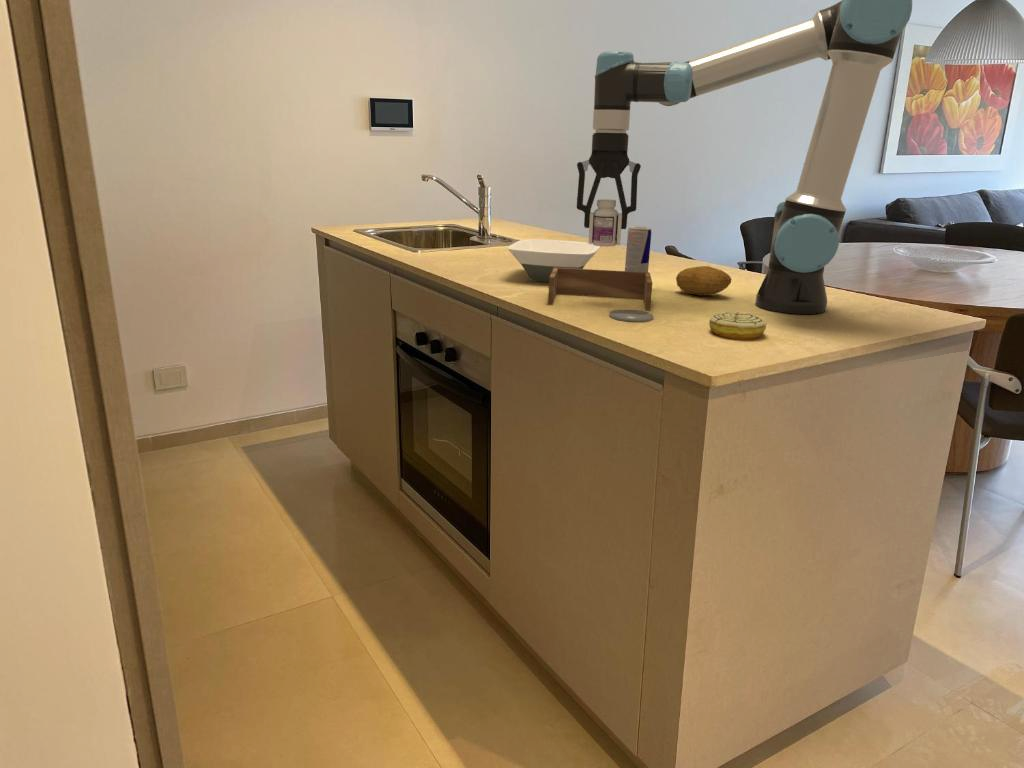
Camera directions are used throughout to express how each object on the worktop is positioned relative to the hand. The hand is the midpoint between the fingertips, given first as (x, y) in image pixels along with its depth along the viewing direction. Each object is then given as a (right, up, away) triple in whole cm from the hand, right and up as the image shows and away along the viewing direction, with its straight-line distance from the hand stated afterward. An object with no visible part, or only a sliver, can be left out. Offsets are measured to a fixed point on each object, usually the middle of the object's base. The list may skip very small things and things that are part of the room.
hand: (604, 243), depth 168 cm
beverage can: (+10, -8, +21) cm, 24 cm away
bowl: (-9, -4, +31) cm, 32 cm away
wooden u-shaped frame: (-1, -12, +5) cm, 13 cm away
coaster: (+5, -17, -9) cm, 20 cm away
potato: (+25, -10, +16) cm, 31 cm away
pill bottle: (0, -1, 0) cm, 1 cm away
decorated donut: (+23, -21, -19) cm, 37 cm away
